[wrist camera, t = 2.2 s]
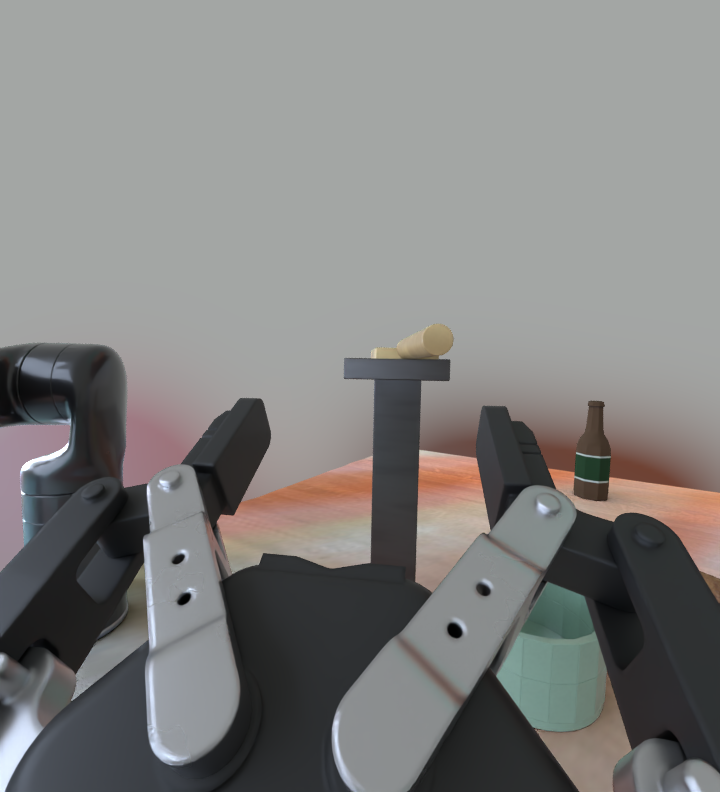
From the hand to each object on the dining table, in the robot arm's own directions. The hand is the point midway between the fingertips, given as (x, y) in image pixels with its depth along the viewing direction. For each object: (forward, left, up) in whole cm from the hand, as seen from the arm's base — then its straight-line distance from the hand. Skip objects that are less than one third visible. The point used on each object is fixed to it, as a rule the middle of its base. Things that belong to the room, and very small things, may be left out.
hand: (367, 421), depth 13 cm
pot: (-8, +28, -29) cm, 41 cm away
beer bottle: (-26, +92, -29) cm, 100 cm away
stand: (-20, +20, -29) cm, 40 cm away
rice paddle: (-14, +16, +3) cm, 22 cm away
